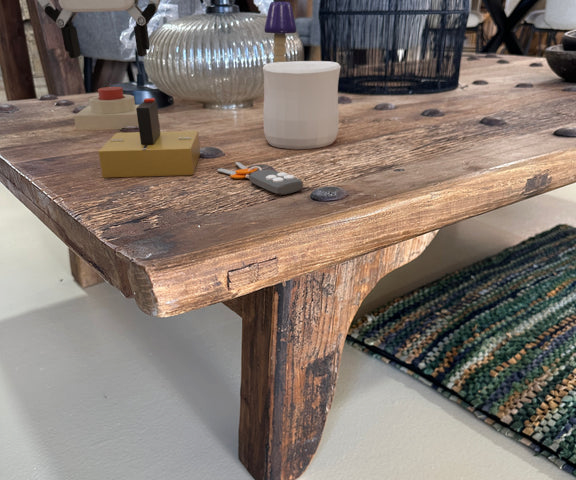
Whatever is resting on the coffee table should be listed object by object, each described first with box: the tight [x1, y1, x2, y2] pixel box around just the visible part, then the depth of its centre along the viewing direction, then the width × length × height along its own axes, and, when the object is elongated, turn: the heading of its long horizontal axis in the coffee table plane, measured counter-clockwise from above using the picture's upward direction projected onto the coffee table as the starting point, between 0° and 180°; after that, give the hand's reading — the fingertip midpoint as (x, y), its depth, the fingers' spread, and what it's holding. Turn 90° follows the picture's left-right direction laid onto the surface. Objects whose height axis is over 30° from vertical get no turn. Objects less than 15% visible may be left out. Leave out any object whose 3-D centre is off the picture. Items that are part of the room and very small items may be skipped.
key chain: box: [216, 161, 304, 196], centre depth 61 cm, size 13×4×2 cm, turn 38°
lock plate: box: [97, 130, 201, 179], centre depth 67 cm, size 10×9×3 cm
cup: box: [262, 60, 342, 150], centre depth 75 cm, size 10×10×10 cm
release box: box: [73, 93, 140, 131], centre depth 88 cm, size 10×8×4 cm
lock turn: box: [136, 97, 161, 145], centre depth 65 cm, size 5×1×4 cm, turn 2°
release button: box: [97, 86, 124, 100], centre depth 87 cm, size 4×4×2 cm
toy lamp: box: [264, 1, 297, 63], centre depth 85 cm, size 5×5×17 cm
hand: (109, 56), depth 82 cm, fingers open, 9 cm apart
